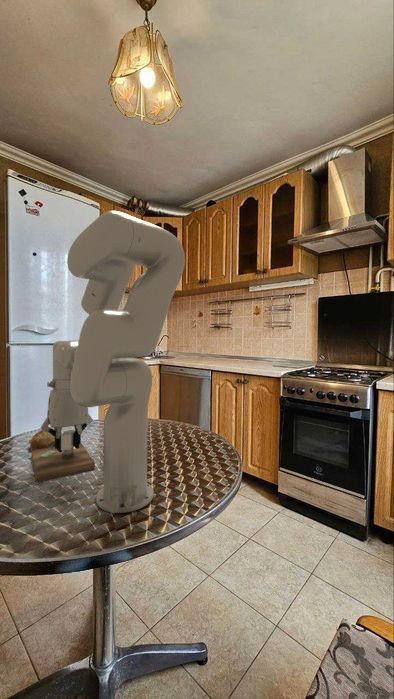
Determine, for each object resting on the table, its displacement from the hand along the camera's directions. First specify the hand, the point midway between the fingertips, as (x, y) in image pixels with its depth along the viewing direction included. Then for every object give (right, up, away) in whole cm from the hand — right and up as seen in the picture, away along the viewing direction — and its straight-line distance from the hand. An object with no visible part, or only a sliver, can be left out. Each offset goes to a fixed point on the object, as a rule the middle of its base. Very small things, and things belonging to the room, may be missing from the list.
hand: (68, 448), depth 85 cm
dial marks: (-4, -2, +4) cm, 6 cm away
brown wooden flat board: (-2, -5, +1) cm, 5 cm away
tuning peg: (-1, -2, +3) cm, 4 cm away
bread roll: (-13, -4, +13) cm, 19 cm away
